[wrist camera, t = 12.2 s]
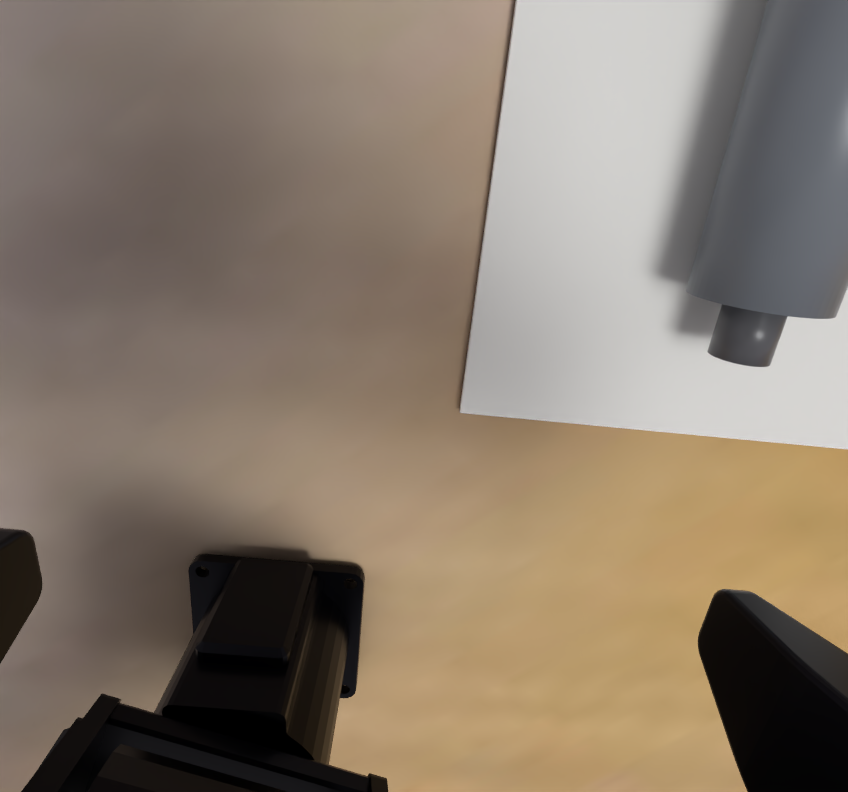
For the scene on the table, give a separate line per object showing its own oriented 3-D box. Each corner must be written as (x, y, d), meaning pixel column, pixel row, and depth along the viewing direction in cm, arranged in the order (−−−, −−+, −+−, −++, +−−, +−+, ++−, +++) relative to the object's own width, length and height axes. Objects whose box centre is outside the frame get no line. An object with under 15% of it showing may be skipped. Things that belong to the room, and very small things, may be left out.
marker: (707, 334, 18) (833, 370, 15) (646, 345, 15) (781, 388, 13) (898, -291, 12) (1148, -404, 10) (844, -406, 10) (1148, -593, 7)
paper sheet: (860, 447, 19) (867, 451, 18) (459, 409, 18) (460, 412, 18) (1248, -408, 11) (1269, -422, 11) (586, -511, 11) (589, -530, 10)
